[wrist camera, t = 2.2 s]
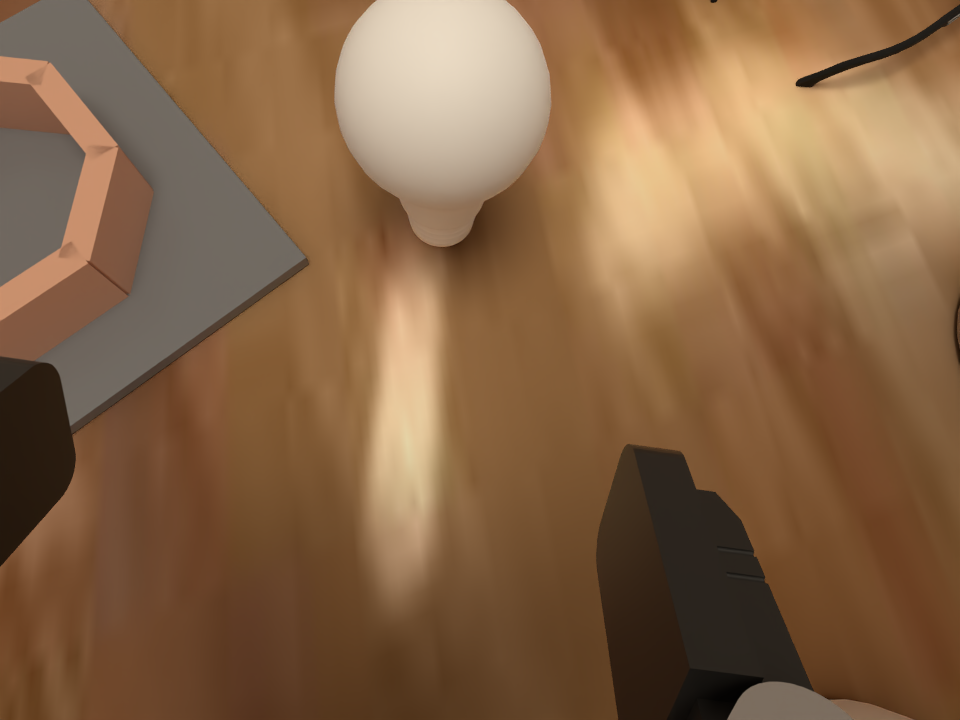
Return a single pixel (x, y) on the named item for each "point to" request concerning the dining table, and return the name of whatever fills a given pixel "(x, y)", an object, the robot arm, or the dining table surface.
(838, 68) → the sunglasses
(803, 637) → the dining table surface
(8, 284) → the ring holder
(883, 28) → the dining table surface
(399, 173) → the lightbulb
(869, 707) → the alcohol
